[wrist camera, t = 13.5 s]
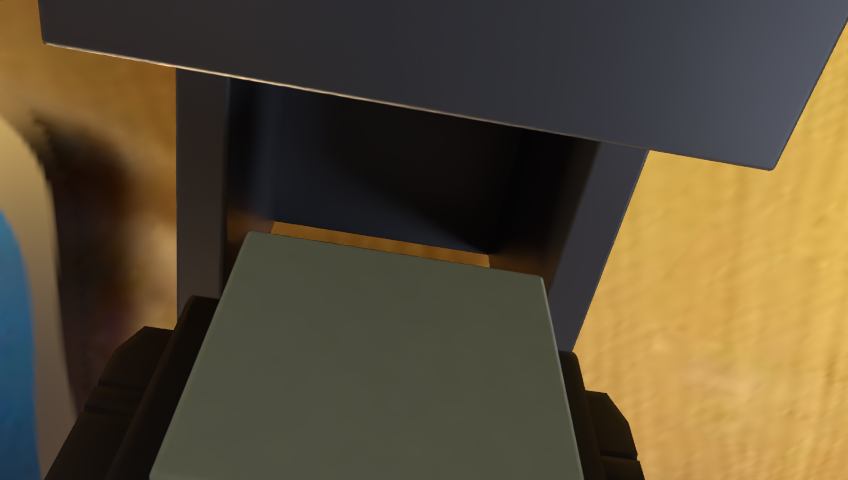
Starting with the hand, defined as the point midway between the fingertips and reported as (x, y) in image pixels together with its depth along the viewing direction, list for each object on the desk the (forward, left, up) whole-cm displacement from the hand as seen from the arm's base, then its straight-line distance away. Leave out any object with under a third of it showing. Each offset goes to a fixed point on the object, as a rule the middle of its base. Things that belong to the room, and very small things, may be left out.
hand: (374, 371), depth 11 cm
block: (0, 0, 0) cm, 0 cm away
